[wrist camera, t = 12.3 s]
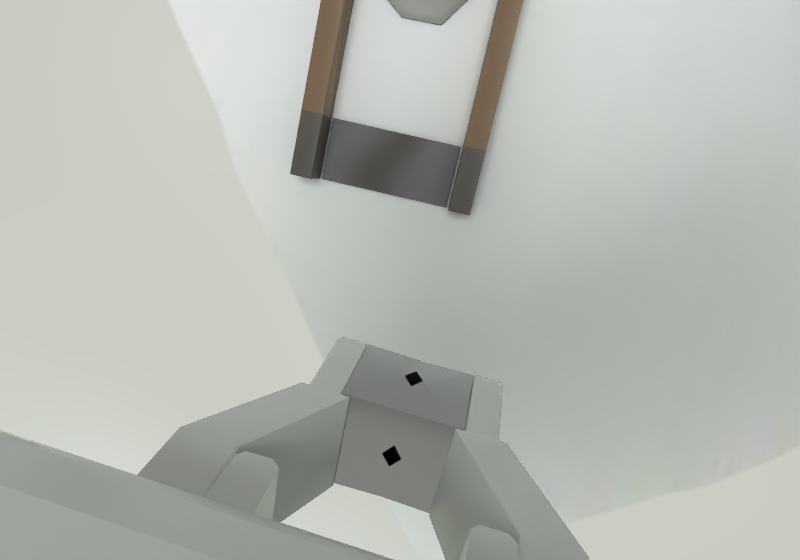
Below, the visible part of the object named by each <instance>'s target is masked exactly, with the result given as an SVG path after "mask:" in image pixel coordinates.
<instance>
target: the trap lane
mask: <svg viewBox="0 0 800 560" xmlns="http://www.w3.org/2000/svg"><path fill="white" fill-rule="evenodd" d="M353 1H354V0H321V3H320V9H319V15H318V20H317V26H316V32H315V37H314V43H313V49H312V54H311V60H310V65H309V71H308V77H307V82H306V88H305V94H304V99H303V105H302V110H301V116H300V122H299V127H298V133H297V139H296V144H295V150H294V156H293V161H292V167H291V172H290V174H293V175H297V176H301V177H306V178H310V179H312V178H320V176H321V171H322V165H323V160H324V155H325V150H326V144H327V139H328V134H329V128H330V123H331V118H332V113H333V107H334V102H335V97H336V91H337V86H338V81H339V76H340V70H341V65H342V60H343V54H344V49H345V44H346V39H347V33H348V28H349V23H350V17H351V12H352V7H353ZM522 2H523V0H498V4H497V8H496V12H495V16H494V20H493V24H492V28H491V33H490V37H489V41H488V45H487V49H486V53H485V58H484V62H483V66H482V70H481V74H480V78H479V83H478V87H477V91H476V95H475V99H474V103H473V108H472V112H471V116H470V120H469V124H468V128H467V133H466V137H465V141H464V145H463V149H462V153H461V157H460V162H459V166H458V170H457V174H456V178H455V182H454V187H453V191H452V195H451V199H450V203H449V207H448V208H449V211H453V212H457V213H462V214H466V215H470V211H471V207H472V203H473V199H474V195H475V191H476V187H477V183H478V179H479V175H480V171H481V167H482V163H483V159H484V155H485V151H486V147H487V143H488V139H489V135H490V131H491V127H492V123H493V119H494V115H495V111H496V107H497V103H498V99H499V95H500V91H501V87H502V83H503V79H504V75H505V71H506V67H507V63H508V59H509V55H510V51H511V47H512V43H513V39H514V35H515V31H516V27H517V22H518V18H519V14H520V10H521V6H522ZM459 150H460V147H459V146H454V145H450V144H445V143H441V142H436V141H432V140H428V139H423V138H419V137H414V136H410V135H406V134H401V133H397V132H392V131H388V130H383V129H379V128H375V127H370V126H366V125H361V124H357V123H353V122H348V121H344V120H339V119H335V118H333V122H332V128H331V133H330V138H329V143H328V149H327V154H326V159H325V164H324V170H323V175H322V179H326V180H330V181H334V182H339V183H343V184H347V185H352V186H356V187H360V188H365V189H369V190H373V191H378V192H382V193H386V194H391V195H395V196H399V197H404V198H408V199H412V200H417V201H421V202H425V203H430V204H434V205H438V206H443V207H446V205H447V200H448V196H449V192H450V188H451V184H452V180H453V175H454V171H455V167H456V163H457V159H458V154H459Z"/></svg>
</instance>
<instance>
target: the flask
mask: <svg viewBox="0 0 800 560" xmlns="http://www.w3.org/2000/svg"><path fill="white" fill-rule="evenodd" d="M388 1H389V2H390V4H391V5H392V6H393V7H394V8H395V10H396V11H397V12H398V13H399V14H400V16H401V17H405V18H410V19H414V20H419V21H424V22H429V23H434V24H439V25H441V24H443V23H444V22H445V21H446V20H447V19H448V18H449V17H450V16H451V15H452V14H453V13H454V12H455V11H456V10H457V9H458V8H459V7H461V6H462V5H463V4H464V3H465V2H466V1H467V0H388Z"/></svg>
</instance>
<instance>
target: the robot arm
mask: <svg viewBox="0 0 800 560" xmlns="http://www.w3.org/2000/svg"><path fill="white" fill-rule="evenodd" d="M502 390H503V385H502V383H501V382H499V381H495V380H491V379H487V378H483V377H479V376H475V375H474V376H473V375H470V374H466V373H462V372H458V371H454V370H451V369H447V368H443V367H439V366H435V365H431V364H428V363H424V362H420V360H417V359H413V358H410V357H407V356H404V355H400V354H397V353H394V352H391V351H387V350H384V349H381V348H378V347H374V346H371V345H367V344H365V343H362V342H358V341H354V340H351V339H347V338H343V337H342V338H340V339H339V340H338V341H337V342H336V344H335V345H334V347H333V349H332V350H331V352H330V353H329V355H328V357H327V358H326V360H325V361H324V363H323V364H322V366H321V368H320V370H319V371H318V372H317V374H316V376H315V377H314V379H313V381H312V382H311V384H310V385H309V384H305V383H300V384H297V385H294V386H291V387H289V388H286V389H283V390H281V391H278V392H275V393H272V394H270V395H267V396H264V397H261V398H259V399H256V400H253V401H250V402H248V403H245V404H242V405H240V406H237V407H234V408H231V409H229V410H226V411H223V412H221V413H218V414H215V415H212V416H209V417H207V418H204V419H201V420H198V421H196V422H193V423H190V424H188V425H185V426H182V427H180V428H179V429H178V430H177V431H176V432H175V433H174V434H173V436H172V437H171V438H170V439H169V440H168V441H167V442H166V443H165V445H164V446H163V447H162V448H161V449H160V450H159V451H158V452H157V453H156V455H155V456H154V457H153V458H152V459H151V460H150V461H149V462H148V464H147V465H146V466H145V467H144V468H143V469H142V470H141V471H140V473H139V474H138V475H134V474H131V473H128V472H125V471H122V470H119V469H116V468H113V467H110V466H107V465H104V464H101V463H98V462H95V461H91V460H88V459H85V458H82V457H79V456H77V455H73V454H70V453H67V452H64V451H61V450H58V449H55V448H52V447H49V446H46V445H43V444H40V443H37V442H34V441H31V440H28V439H25V438H22V437H18V436H16V435H13V434H9V433H7V432H4V431H0V560H393V559H390V558H387V557H384V556H381V555H378V554H375V553H372V552H369V551H366V550H363V549H360V548H357V547H353V546H351V545H348V544H344V543H341V542H338V541H335V540H332V539H329V538H326V537H323V536H320V535H317V534H314V533H311V532H308V531H305V530H302V529H299V528H295V527H292V526H289V525H286V524H283V523H280V522H281V521H283V520H284V519H286V518H287V517H289V516H290V515H291V514H293V513H294V512H296V511H297V510H298V509H300V508H301V507H303V506H304V505H306V504H307V503H308V502H310V501H311V500H313V499H314V498H316V497H317V496H319V495H320V494H321V493H323V492H324V491H326V490H327V489H328V488H330V487H331V486H333V483H336V484H340V485H343V486H347V487H351V488H354V489H358V490H361V491H364V492H368V493H371V494H375V495H379V496H382V497H385V498H387V499H390V500H393V501H396V502H399V503H402V504H405V505H408V506H410V507H413V508H416V509H419V510H422V511H425V512H428V513H430V515H429V516H430V519H431V521H432V524H433V527H434V530H435V532H436V535H437V538H438V540H439V543H440V546H441V548H442V551H443V554H444V557H445V559H446V560H589V557H588V556H587V554H586V553H585V551H584V550H583V549H582V547H581V546H580V544H579V543H578V542H577V540H576V539H575V538H574V536H573V535H572V534H571V532H570V531H569V529H568V528H567V526H566V525H565V524H564V522H563V521H562V519H561V518H560V517H559V515H558V514H557V512H556V511H555V510H554V508H553V507H552V506H551V504H550V503H549V501H548V500H547V499H546V497H545V496H544V494H543V493H542V492H541V490H540V489H539V487H538V486H537V485H536V483H535V482H534V481H533V479H532V478H531V476H530V475H529V474H528V472H527V471H526V469H525V468H524V467H523V465H522V464H521V463H520V461H519V460H518V458H517V457H516V456H515V454H514V453H513V451H512V450H511V449H510V447H509V446H508V444H506V443H503V442H500V441H499V431H500V417H501V403H502Z"/></svg>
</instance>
